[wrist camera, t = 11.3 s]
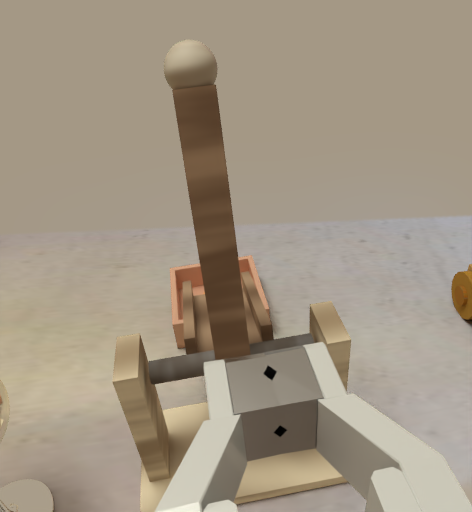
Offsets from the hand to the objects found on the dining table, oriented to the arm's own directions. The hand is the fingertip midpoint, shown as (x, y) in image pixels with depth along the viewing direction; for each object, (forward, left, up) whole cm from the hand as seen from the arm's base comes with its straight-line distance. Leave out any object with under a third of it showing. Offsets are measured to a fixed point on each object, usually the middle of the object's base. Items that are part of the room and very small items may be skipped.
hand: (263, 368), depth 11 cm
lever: (+18, +6, -17) cm, 26 cm away
